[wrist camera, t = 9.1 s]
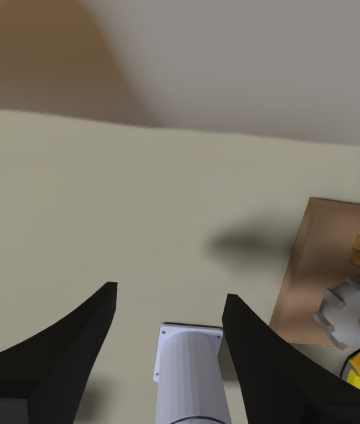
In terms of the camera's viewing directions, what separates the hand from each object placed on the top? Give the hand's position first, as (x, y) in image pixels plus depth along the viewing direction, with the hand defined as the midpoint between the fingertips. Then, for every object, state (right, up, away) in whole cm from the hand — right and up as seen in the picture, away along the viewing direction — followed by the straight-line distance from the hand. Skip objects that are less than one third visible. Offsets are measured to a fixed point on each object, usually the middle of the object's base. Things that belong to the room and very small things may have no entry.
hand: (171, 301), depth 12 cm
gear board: (+20, -2, +11) cm, 23 cm away
